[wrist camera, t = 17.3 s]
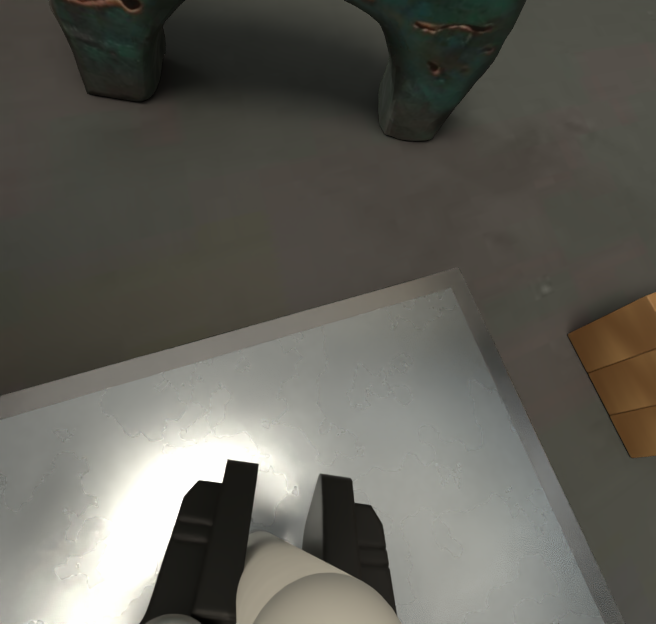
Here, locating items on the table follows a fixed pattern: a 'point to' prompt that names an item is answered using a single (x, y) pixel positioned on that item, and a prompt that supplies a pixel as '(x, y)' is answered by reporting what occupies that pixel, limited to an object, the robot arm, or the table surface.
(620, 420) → the holder
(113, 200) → the table surface
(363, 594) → the stylus
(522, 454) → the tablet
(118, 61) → the ceramic cat
